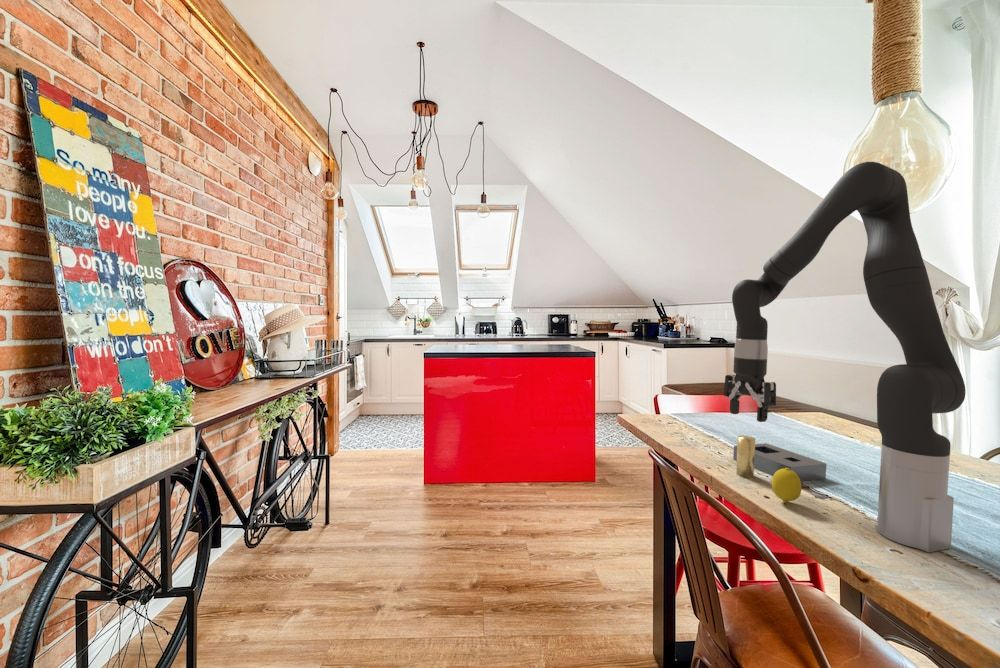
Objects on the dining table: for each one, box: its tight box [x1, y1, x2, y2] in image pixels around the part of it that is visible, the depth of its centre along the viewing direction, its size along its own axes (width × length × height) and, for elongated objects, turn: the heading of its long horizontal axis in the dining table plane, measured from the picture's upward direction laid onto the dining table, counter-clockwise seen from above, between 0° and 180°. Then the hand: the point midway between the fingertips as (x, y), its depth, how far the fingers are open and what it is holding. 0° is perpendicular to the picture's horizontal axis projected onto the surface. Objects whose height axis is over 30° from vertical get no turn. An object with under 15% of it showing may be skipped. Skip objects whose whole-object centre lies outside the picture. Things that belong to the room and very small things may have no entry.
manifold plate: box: [732, 443, 827, 482], centre depth 117 cm, size 18×12×4 cm, turn 16°
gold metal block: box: [735, 435, 756, 479], centre depth 112 cm, size 4×4×10 cm
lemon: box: [771, 468, 802, 504], centre depth 95 cm, size 6×6×8 cm
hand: (747, 417), depth 112 cm, fingers open, 8 cm apart
